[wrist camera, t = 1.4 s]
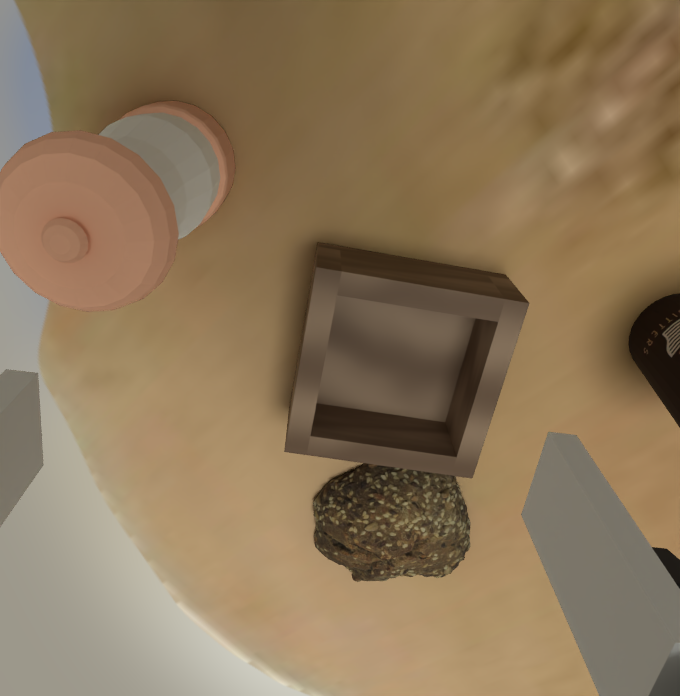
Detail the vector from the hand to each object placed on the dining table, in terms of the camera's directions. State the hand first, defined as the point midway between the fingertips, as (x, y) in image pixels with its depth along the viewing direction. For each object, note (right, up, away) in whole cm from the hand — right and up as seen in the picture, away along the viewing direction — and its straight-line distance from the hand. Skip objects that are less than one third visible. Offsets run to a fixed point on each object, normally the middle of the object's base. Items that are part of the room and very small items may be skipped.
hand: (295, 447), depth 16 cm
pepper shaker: (-9, +14, +23) cm, 29 cm away
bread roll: (+5, -11, +36) cm, 38 cm away
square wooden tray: (+5, +3, +29) cm, 29 cm away
